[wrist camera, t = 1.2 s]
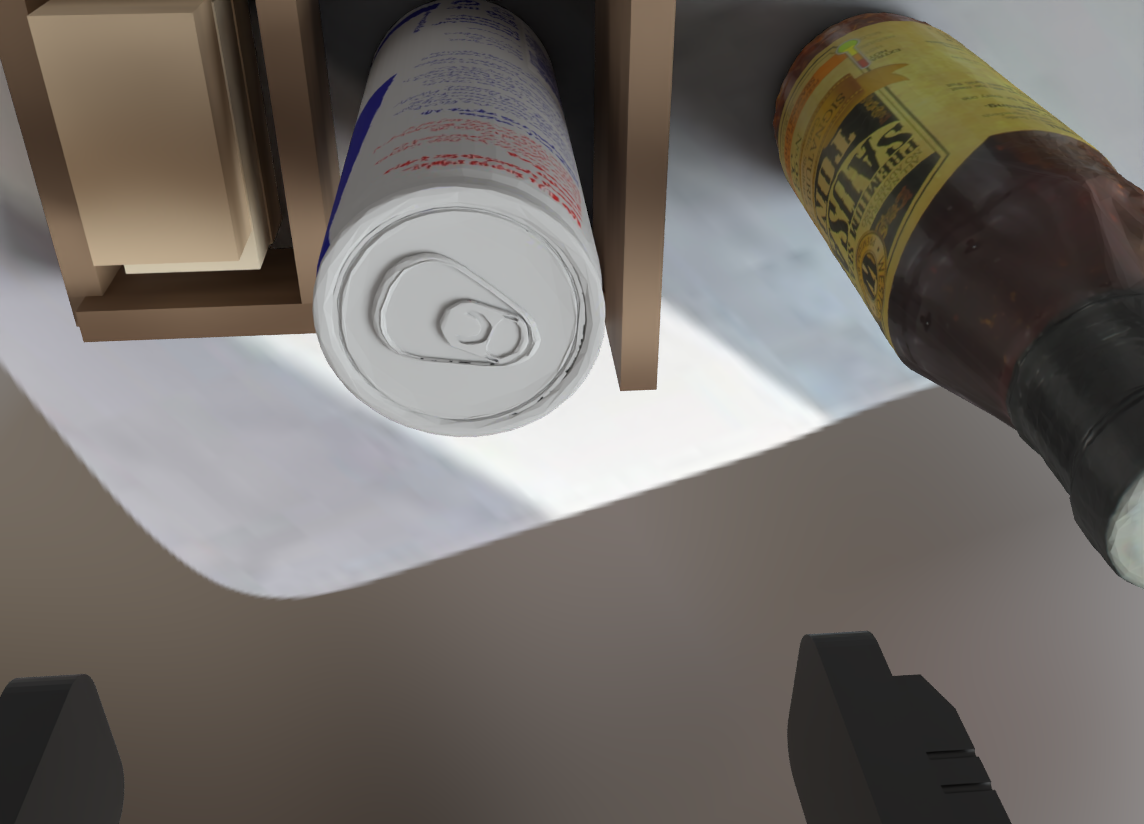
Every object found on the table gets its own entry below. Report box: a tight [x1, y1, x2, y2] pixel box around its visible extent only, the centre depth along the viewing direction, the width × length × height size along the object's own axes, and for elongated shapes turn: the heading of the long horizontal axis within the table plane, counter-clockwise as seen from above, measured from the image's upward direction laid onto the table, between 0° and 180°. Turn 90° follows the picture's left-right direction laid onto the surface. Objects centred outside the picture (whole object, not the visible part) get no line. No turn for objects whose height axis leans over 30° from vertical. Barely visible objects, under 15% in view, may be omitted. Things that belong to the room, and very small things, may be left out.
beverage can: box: [312, 0, 605, 437], centre depth 26 cm, size 6×6×15 cm
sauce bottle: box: [773, 12, 1144, 589], centre depth 26 cm, size 6×6×20 cm
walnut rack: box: [0, 0, 676, 391], centre depth 29 cm, size 12×17×8 cm
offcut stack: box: [27, 0, 282, 274], centre depth 30 cm, size 8×4×6 cm, turn 0°
